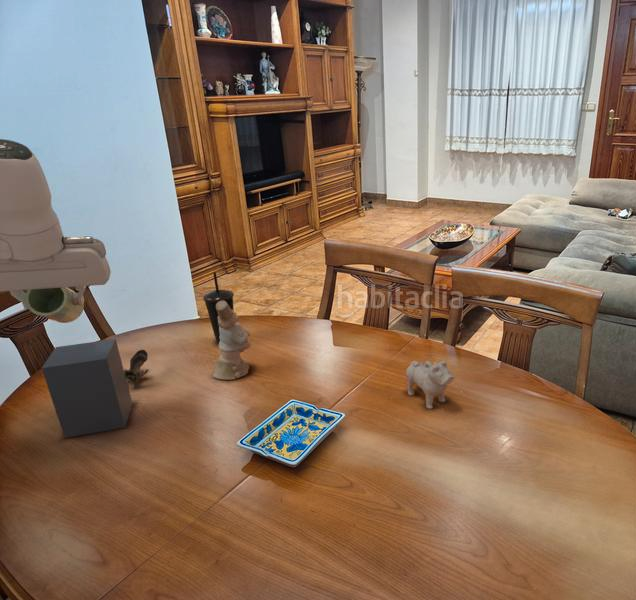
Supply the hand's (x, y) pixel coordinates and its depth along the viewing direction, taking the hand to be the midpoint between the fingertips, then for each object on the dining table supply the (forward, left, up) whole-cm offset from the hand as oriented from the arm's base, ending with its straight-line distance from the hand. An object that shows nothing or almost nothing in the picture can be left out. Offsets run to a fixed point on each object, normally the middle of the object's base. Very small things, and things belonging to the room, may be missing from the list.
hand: (55, 305), depth 94 cm
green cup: (0, +5, -2) cm, 5 cm away
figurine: (+28, +13, -28) cm, 41 cm away
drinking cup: (+26, +31, -28) cm, 49 cm away
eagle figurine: (+6, +17, -28) cm, 33 cm away
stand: (+1, +2, -27) cm, 27 cm away
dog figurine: (+69, -13, -28) cm, 75 cm away
